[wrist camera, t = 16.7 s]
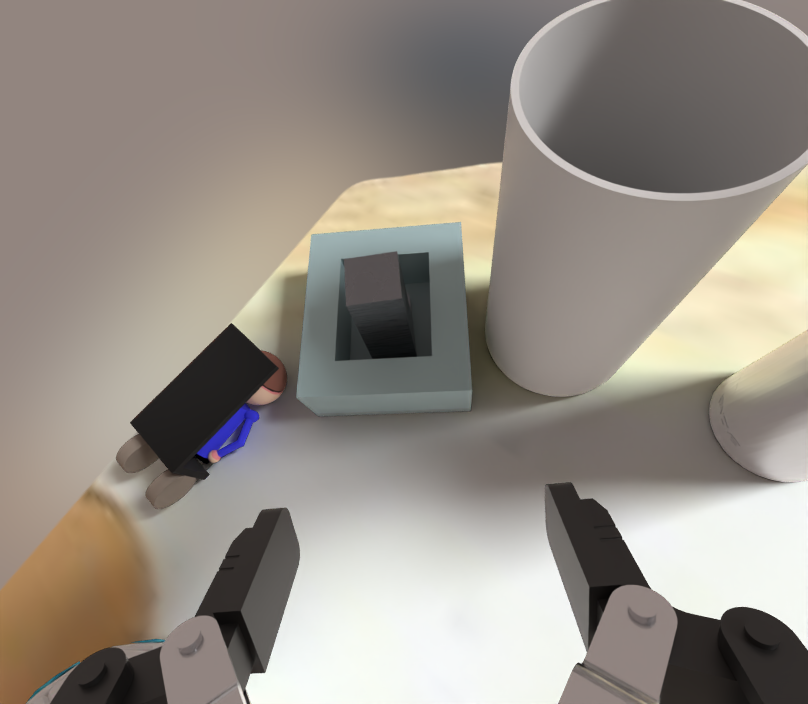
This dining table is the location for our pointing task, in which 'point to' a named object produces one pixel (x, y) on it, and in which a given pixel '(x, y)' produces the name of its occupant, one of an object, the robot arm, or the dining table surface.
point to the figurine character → (202, 414)
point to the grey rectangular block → (380, 305)
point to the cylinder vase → (633, 174)
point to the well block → (432, 320)
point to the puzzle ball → (46, 693)
